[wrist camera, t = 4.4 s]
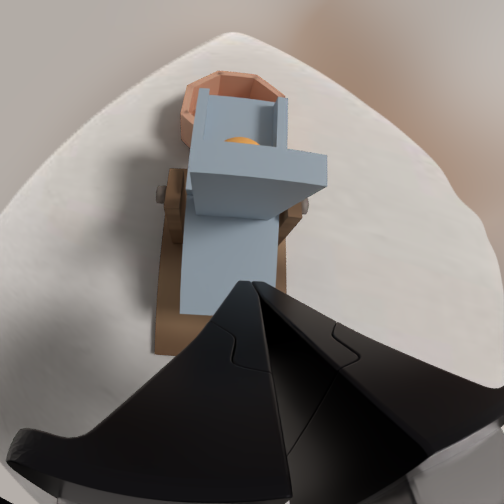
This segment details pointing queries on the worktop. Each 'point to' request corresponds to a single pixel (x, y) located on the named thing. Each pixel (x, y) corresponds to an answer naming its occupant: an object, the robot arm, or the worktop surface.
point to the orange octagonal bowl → (223, 94)
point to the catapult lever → (239, 196)
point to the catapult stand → (169, 282)
